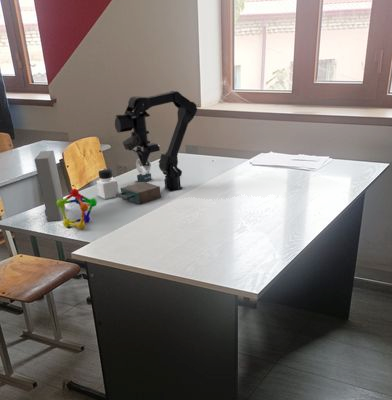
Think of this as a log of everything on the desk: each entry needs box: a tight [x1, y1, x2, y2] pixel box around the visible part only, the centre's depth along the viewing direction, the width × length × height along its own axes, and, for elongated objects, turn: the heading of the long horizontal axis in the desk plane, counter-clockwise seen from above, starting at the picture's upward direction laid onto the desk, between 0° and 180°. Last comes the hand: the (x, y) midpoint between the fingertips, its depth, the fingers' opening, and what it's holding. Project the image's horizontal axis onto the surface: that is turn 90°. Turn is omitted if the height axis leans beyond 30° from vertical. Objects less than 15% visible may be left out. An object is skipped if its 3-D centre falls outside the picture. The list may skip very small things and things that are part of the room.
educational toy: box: [57, 188, 98, 231], centre depth 200 cm, size 16×13×15 cm
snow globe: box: [135, 158, 152, 183], centre depth 250 cm, size 6×8×11 cm
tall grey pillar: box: [34, 150, 67, 222], centre depth 208 cm, size 14×6×25 cm, turn 4°
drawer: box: [116, 187, 141, 205], centre depth 226 cm, size 16×13×5 cm
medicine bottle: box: [96, 168, 119, 200], centre depth 231 cm, size 7×7×12 cm
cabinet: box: [122, 182, 162, 205], centre depth 228 cm, size 11×13×5 cm
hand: (144, 166), depth 225 cm, fingers closed
